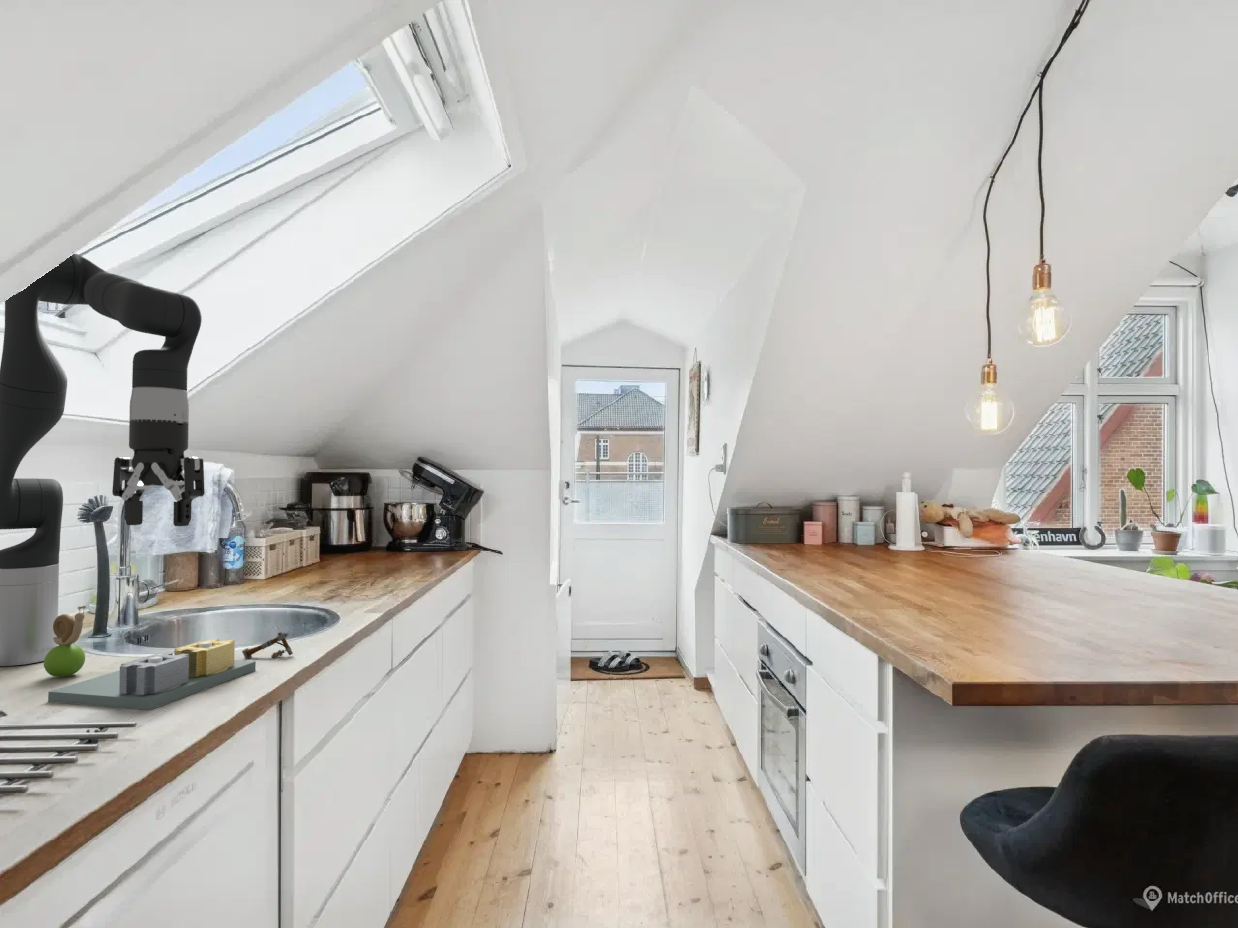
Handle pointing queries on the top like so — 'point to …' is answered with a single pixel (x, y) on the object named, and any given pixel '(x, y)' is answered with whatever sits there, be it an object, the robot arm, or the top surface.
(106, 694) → the gear board
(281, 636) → the brown grey angled piece
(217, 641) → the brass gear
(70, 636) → the snail figurine
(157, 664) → the grey hollow block
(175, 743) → the top surface
